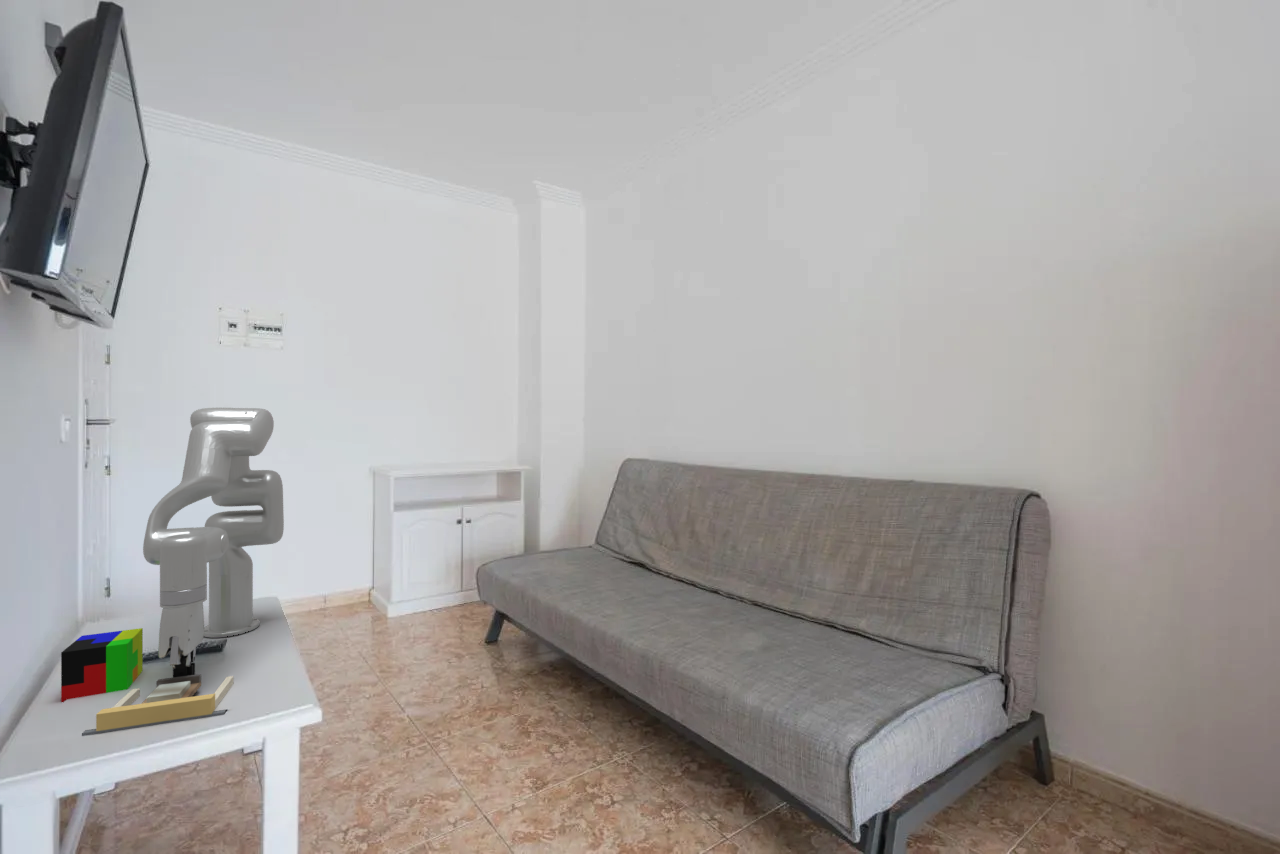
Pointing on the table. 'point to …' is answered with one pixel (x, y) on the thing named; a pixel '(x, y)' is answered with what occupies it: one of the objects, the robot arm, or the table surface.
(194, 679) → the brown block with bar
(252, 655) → the table surface
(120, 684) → the puzzle toy
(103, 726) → the mat
